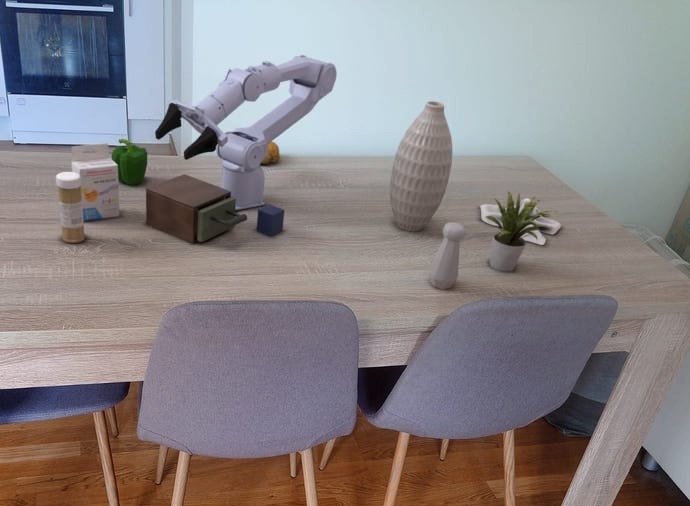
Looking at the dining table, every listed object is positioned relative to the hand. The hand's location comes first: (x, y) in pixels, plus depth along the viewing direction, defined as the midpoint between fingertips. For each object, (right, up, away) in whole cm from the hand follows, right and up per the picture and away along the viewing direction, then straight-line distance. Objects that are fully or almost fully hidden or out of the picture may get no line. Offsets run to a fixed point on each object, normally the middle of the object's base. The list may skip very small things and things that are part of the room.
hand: (170, 145), depth 143 cm
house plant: (+70, -24, +10) cm, 74 cm away
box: (+20, -15, +13) cm, 28 cm away
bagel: (+5, -11, +10) cm, 16 cm away
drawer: (+6, -15, +9) cm, 19 cm away
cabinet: (+2, -14, +11) cm, 18 cm away
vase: (+52, -12, +23) cm, 58 cm away
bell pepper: (-14, 0, +29) cm, 32 cm away
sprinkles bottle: (-20, -19, +1) cm, 28 cm away
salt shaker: (+55, -28, +1) cm, 62 cm away
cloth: (+81, -10, +31) cm, 88 cm away
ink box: (-18, -12, +11) cm, 24 cm away
